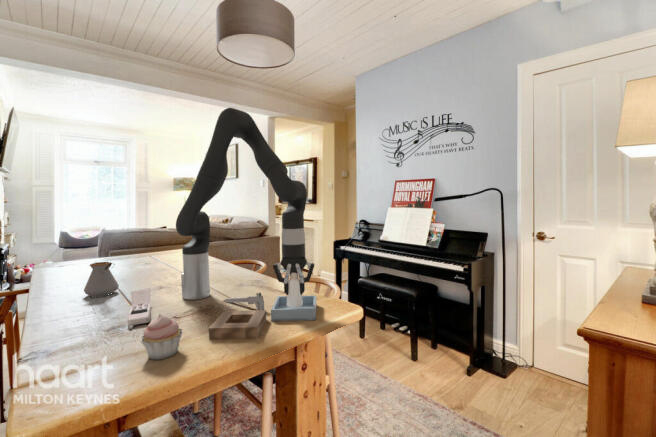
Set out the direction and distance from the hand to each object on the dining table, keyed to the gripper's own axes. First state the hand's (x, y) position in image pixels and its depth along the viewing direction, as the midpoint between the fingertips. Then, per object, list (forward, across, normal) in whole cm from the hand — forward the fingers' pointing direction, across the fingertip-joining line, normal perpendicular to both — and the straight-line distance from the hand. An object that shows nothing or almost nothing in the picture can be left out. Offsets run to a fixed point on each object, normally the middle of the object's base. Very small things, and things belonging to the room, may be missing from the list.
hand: (294, 293), depth 103 cm
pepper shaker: (+4, 0, 0) cm, 4 cm away
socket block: (+6, -15, -12) cm, 20 cm away
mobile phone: (+7, -51, +1) cm, 52 cm away
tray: (+6, 0, 0) cm, 6 cm away
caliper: (+7, -19, +8) cm, 22 cm away
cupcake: (+7, -30, -26) cm, 40 cm away
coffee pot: (+7, -77, +22) cm, 80 cm away
